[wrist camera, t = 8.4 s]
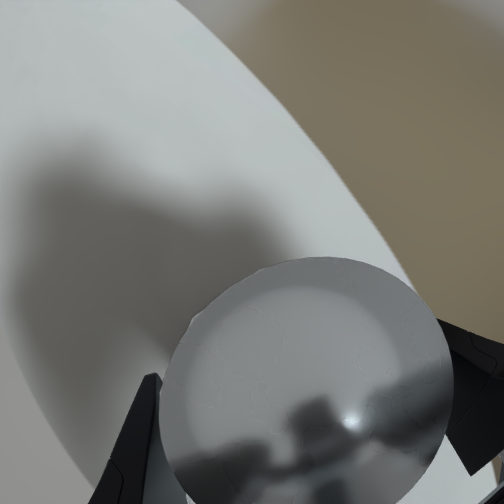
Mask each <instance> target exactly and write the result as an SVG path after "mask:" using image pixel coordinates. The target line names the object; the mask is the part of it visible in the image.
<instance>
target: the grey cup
mask: <svg viewBox="0 0 504 504" xmlns="http://www.w3.org/2000/svg"><path fill="white" fill-rule="evenodd" d="M159 393H160V404H159V425H160V434H161V441H162V444H163V448H164V452H165V455H166V459H167V461H168V463H169V465H170V467H171V469H172V472H173V474H174V476H175V477H176V479H177V480H178V482H179V483H180V485H181V486H182V488H183V489H184V491H185V492H186V493H187V494H188V495H189V497H190V498H191V499H192V500H193V501H194V502H195V503H196V504H396V503H397V502H398V501H399V500H400V499H401V498H403V497H404V496H405V495H406V494H407V493H408V492H409V491H410V490H411V489H412V488H413V486H414V485H415V484H416V483H417V482H418V480H419V479H420V478H421V477H422V475H423V474H424V473H425V471H426V470H427V468H428V467H429V465H430V464H431V462H432V461H433V459H434V457H435V455H436V453H437V451H438V449H439V447H440V445H441V443H442V440H443V438H444V435H445V432H446V430H447V427H448V423H449V419H450V415H451V410H452V402H453V394H454V376H453V367H452V360H451V356H450V352H449V348H448V344H447V341H446V339H445V336H444V334H443V331H442V329H441V327H440V325H439V323H438V321H437V320H436V318H435V316H434V314H433V313H432V311H431V310H430V309H429V307H428V306H427V305H426V303H425V302H424V301H423V300H422V299H421V298H420V297H419V296H418V295H417V294H416V293H415V292H414V291H413V290H412V289H411V288H410V287H409V286H407V285H406V284H405V283H403V282H402V281H401V280H400V279H398V278H397V277H395V276H393V275H391V274H389V273H388V272H386V271H384V270H382V269H380V268H377V267H375V266H372V265H370V264H367V263H364V262H359V261H355V260H351V259H346V258H336V257H309V258H302V259H296V260H291V261H286V262H283V263H279V264H276V265H273V266H270V267H267V268H260V269H259V270H258V271H256V272H255V273H254V274H251V275H249V276H247V277H245V278H244V279H242V280H241V281H239V282H237V283H236V284H234V285H233V286H231V287H229V288H228V289H226V290H225V291H224V292H223V293H222V294H220V295H219V296H218V297H217V298H216V299H214V300H213V301H212V302H211V303H210V304H209V305H208V306H207V307H206V308H205V309H204V310H202V311H201V312H200V313H198V314H197V315H195V316H194V317H192V320H191V322H190V324H189V326H188V329H187V331H186V332H185V334H184V335H183V336H182V338H181V340H180V342H179V343H178V345H177V347H176V349H175V351H174V353H173V355H172V357H171V359H170V362H169V365H168V368H167V371H166V373H165V376H164V380H163V385H162V388H161V391H160V392H159Z"/></svg>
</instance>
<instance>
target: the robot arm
mask: <svg viewBox="0 0 504 504" xmlns="http://www.w3.org/2000/svg"><path fill="white" fill-rule="evenodd" d="M436 320H437V321H438V323H439V325H440V327H441V329H442V331H443V334H444V336H445V339H446V341H447V344H448V348H449V352H450V356H451V360H452V367H453V376H454V394H453V402H452V410H451V415H450V419H449V423H448V427H447V430H446V432H445V434H446V436H447V438H448V439H449V441H450V443H451V444H452V446H453V448H454V449H455V451H456V453H457V454H458V456H459V458H460V459H461V461H462V463H463V465H464V466H465V468H466V470H467V472H468V473H469V475H470V476H472V475H474V474H475V473H476V472H477V471H479V470H480V469H481V468H482V467H484V466H485V465H486V464H487V463H489V462H490V461H491V460H492V459H493V458H494V457H496V456H497V455H499V456H500V458H501V459H502V460H503V461H502V468H501V475H500V481H499V486H498V487H497V488H495V489H494V490H493V491H492V492H491V493H490V494H489V495H488V496H486V497H485V498H484V499H483V500H482V501H481V502H479V503H478V504H504V344H502V343H499V342H495V341H493V340H490V339H486V338H484V337H482V336H479V335H476V334H474V333H472V332H468V331H467V330H464V329H462V328H459V327H457V326H454V325H452V324H450V323H447V322H445V321H442V320H440V319H437V318H436ZM162 385H163V382H162V380H161V379H160V377H159V375H158V374H157V373H152V374H147V375H145V376H144V378H143V380H142V383H141V385H140V387H139V389H138V392H137V394H136V396H135V398H134V401H133V403H132V405H131V408H130V410H129V412H128V415H127V417H126V419H125V422H124V424H123V426H122V429H121V431H120V434H119V436H118V438H117V441H116V443H115V446H114V448H113V451H112V453H111V456H110V458H111V459H109V460H108V463H107V465H106V468H105V470H104V472H103V475H102V477H101V479H100V481H99V483H98V485H97V487H96V489H95V491H94V493H93V495H92V497H91V499H90V501H89V503H88V504H187V499H186V493H185V491H184V489H183V488H182V486H181V485H180V483H179V482H178V480H177V479H176V477H175V476H174V474H173V472H172V469H171V467H170V465H169V463H168V461H167V459H166V455H165V452H164V448H163V444H162V441H161V434H160V425H159V404H160V393H159V392H160V391H161V388H162Z"/></svg>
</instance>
